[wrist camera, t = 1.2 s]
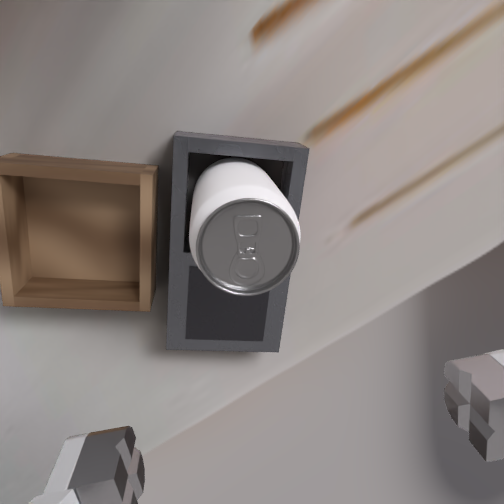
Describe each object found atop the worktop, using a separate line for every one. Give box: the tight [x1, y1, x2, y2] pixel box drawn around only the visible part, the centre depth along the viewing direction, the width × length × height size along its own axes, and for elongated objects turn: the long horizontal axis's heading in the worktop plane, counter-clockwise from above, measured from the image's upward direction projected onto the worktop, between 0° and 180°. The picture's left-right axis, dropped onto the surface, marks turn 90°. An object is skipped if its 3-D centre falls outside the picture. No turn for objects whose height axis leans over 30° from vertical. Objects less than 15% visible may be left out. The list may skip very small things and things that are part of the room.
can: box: [189, 157, 300, 296], centre depth 27 cm, size 6×6×12 cm
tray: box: [166, 131, 309, 352], centre depth 33 cm, size 17×9×4 cm, turn 174°
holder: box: [0, 153, 159, 312], centre depth 31 cm, size 11×11×4 cm
